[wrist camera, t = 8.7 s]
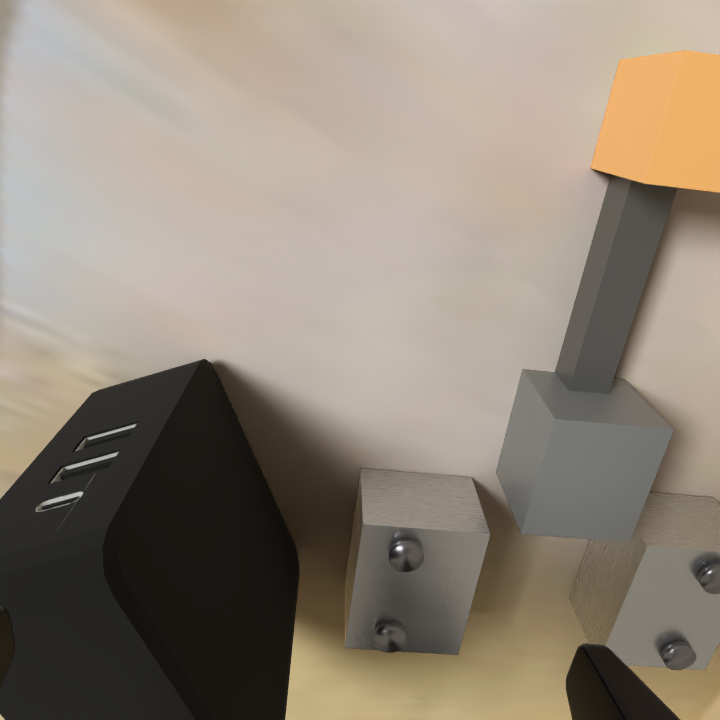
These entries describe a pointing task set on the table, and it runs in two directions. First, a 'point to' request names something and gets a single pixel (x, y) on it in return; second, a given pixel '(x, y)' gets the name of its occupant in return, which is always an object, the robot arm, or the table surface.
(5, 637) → the robot arm
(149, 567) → the electronic device
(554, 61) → the table surface
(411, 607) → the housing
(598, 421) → the orange and grey dumbbell
